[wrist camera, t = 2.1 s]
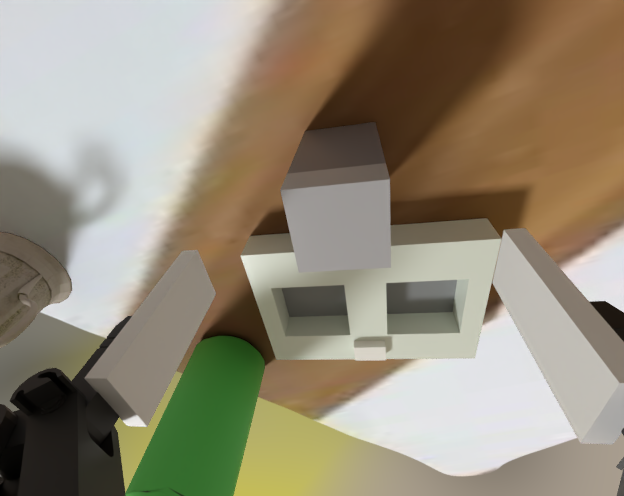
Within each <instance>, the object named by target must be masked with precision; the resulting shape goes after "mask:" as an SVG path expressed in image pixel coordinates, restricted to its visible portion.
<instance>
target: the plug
mask: <svg viewBox="0 0 624 496" xmlns="http://www.w3.org/2000/svg"><path fill="white" fill-rule="evenodd" d="M280 191H281V195H282V200H283V204H284V209H285V213H286V218H287V222H288V227H289V231H290V236H291V240H292V244H293V249H294V253H295V258H296V262H297V267H298V271H299V273H302V272H320V271H339V270H357V269H375V268H391V228H390V178H389V174H388V170H387V166H386V162H385V158H384V154H383V150H382V146H381V142H380V138H379V134H378V130H377V126H376V123H375V122H372V123H364V124H356V125H349V126H341V127H333V128H325V129H318V130H310V131H305V133H304V135H303V137H302V140H301V142H300V145H299V147H298V149H297V152H296V154H295V156H294V159H293V161H292V164H291V166H290V168H289V171H288V173H287V176H286V178H285V180H284V183H283V185H282V188H281V190H280Z"/></svg>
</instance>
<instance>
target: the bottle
mask: <svg viewBox="0 0 624 496" xmlns="http://www.w3.org/2000/svg"><path fill="white" fill-rule="evenodd" d="M264 369H265V361H264V359H263V357H262V356H261V354H260V353H259V352H258V351H257V350H256V349H255V348H254V347H253V346H252V345H251V344H249V343H248V342H246V341H244V340H242V339H240V338H236V337H232V336H215V337H211V338H208V339H204V340H202V341H201V342H200V343H198V344H197V345H196V347H195V350H194V352H193V354H192V356H191V358H190V360H189V362H188V364H187V366H186V368H185V370H184V372H183V374H182V376H181V378H180V381H179V383H178V385H177V387H176V389H175V391H174V393H173V395H172V397H171V399H170V401H169V403H168V406H167V408H166V410H165V412H164V414H163V416H162V418H161V420H160V422H159V424H158V426H157V428H156V431H155V433H154V435H153V437H152V439H151V441H150V443H149V445H148V447H147V449H146V451H145V453H144V456H143V458H142V460H141V462H140V464H139V466H138V468H137V470H136V472H135V475H134V476H133V479H132V481H131V483H130V485H129V487H128V489H127V491H126V493H125V495H126V496H233V495H234V491H235V487H236V483H237V479H238V474H239V471H240V467H241V463H242V459H243V455H244V450H245V446H246V442H247V438H248V434H249V430H250V426H251V422H252V418H253V414H254V410H255V406H256V402H257V398H258V394H259V390H260V385H261V381H262V377H263V373H264Z"/></svg>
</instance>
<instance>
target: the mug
mask: <svg viewBox="0 0 624 496" xmlns="http://www.w3.org/2000/svg"><path fill="white" fill-rule="evenodd" d="M71 291H72V287H71V280H70V278H69V276H68V274H67V272H66V270H65V269H64V268H63V266H62V265H61V264H60V263H59V262H58V261H57V259H56V258H54V257H53V256H52V255H51V254H49V253H48V252H47V251H46V250H44V249H43V248H42V247H40V246H38V245H36V244H34V243H33V242H31V241H29V240H27V239H25V238H22V237H19V236H16V235H14V234H11V233H4V232H0V348H2V347H4V346H5V345H7V344H8V343H10V342H11V341H12V340H14V339H15V338H16V337H17V336H19V335H20V334H21V333H22V332H23V331H24V330H25V329H26V328H27V327H28V326H29V325H30V324H31V322H32V321H33V320H34V319H35V317H36V315H37V314H38V313H39V312H40V311H41V310H42V309H43V308H44V307H46V306H48V305H50V304H54V303H60V302H62V301H64V300H65V299H67V298H68V297H69V295H70V293H71Z"/></svg>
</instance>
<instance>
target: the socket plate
mask: <svg viewBox="0 0 624 496" xmlns="http://www.w3.org/2000/svg"><path fill="white" fill-rule="evenodd" d="M390 228H391V268H375V269H357V270H339V271H320V272H302V273H299V271H298V267H297V262H296V258H295V253H294V249H293V244H292V240H291V236H290V233H284V234H270V235H257V236H250V237H249V239H248V241H247V243H246V245H245V248H244V250H243V252H242V254H241V258H242V261H243V264H244V267H245V270H246V273H247V276H248V279H249V281H250V284H251V287H252V290H253V293H254V296H255V299H256V302H257V305H258V308H259V311H260V313H261V316H262V319H263V322H264V325H265V328H266V331H267V334H268V337H269V340H270V343H271V345H272V348H273V351H274V354H275V357H276V360H307V359H355V360H386V359H445V358H475V355H476V350H477V346H478V341H479V337H480V333H481V328H482V324H483V319H484V315H485V310H486V306H487V301H488V297H489V292H490V288H491V283H492V279H493V275H494V270H495V266H496V261H497V257H498V252H499V248H500V243H501V237H500V236H499V234H498V233H497V232H496V230H495V229H494V227H493V226H492V224H491V223H490V222H489V220H488V219H487V218H482V219H469V220H455V221H442V222H429V223H416V224H403V225H390Z"/></svg>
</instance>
